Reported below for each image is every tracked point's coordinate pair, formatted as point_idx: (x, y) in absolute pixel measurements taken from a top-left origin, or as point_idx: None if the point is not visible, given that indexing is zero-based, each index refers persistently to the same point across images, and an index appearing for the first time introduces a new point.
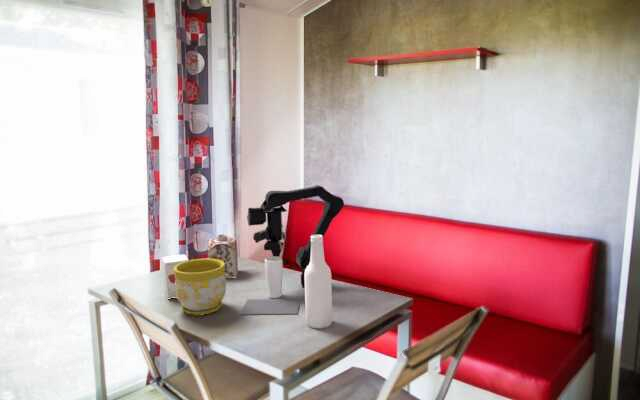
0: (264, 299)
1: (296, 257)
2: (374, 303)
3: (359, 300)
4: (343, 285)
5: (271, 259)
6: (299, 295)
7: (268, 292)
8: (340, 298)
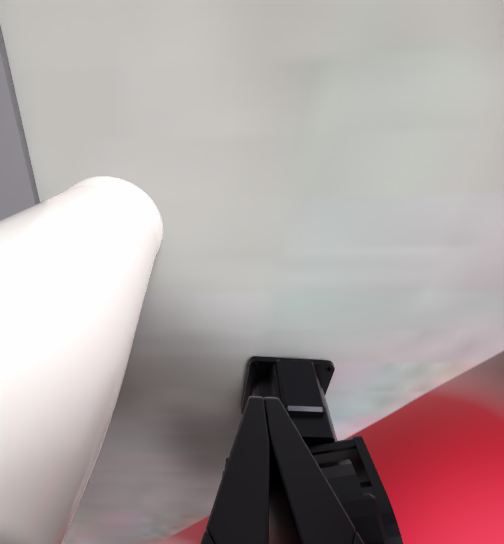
0: (14, 148)
1: (378, 523)
2: None
3: (93, 498)
4: None
5: (32, 466)
6: (138, 343)
7: (67, 189)
8: (108, 462)
